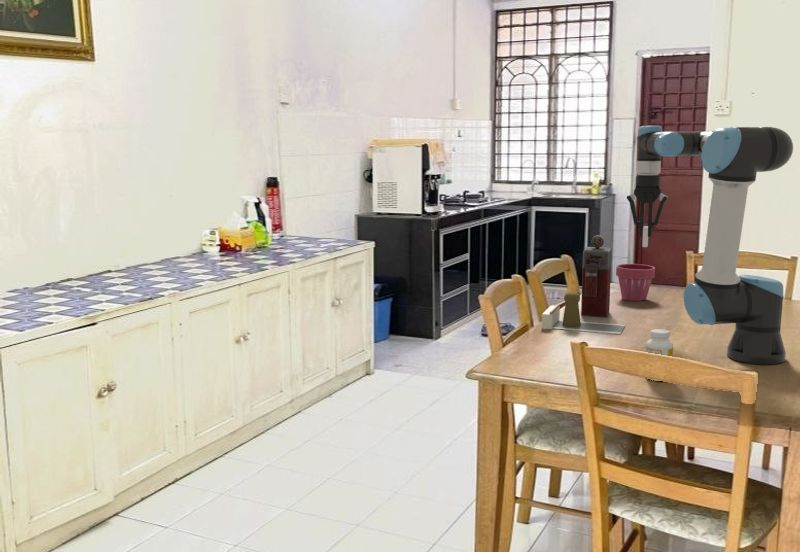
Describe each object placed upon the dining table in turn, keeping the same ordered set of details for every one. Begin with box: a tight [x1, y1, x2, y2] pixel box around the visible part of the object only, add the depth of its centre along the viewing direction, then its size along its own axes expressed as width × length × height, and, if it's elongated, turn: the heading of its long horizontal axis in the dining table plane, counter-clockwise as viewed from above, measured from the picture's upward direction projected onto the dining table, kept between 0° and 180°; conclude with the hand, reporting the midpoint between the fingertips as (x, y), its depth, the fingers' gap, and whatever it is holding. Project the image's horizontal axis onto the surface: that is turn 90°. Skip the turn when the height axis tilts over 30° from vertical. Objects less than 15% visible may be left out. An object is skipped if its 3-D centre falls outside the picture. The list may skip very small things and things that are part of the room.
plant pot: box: [615, 263, 656, 302], centre depth 304 cm, size 14×14×13 cm
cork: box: [562, 291, 582, 327], centre depth 262 cm, size 6×6×11 cm
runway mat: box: [551, 319, 626, 335], centre depth 261 cm, size 12×22×1 cm, turn 68°
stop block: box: [541, 303, 561, 330], centre depth 265 cm, size 14×3×6 cm, turn 158°
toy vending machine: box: [580, 234, 613, 318], centre depth 277 cm, size 9×11×28 cm
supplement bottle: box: [645, 328, 674, 382], centre depth 205 cm, size 7×7×13 cm
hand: (645, 246), depth 259 cm, fingers closed
